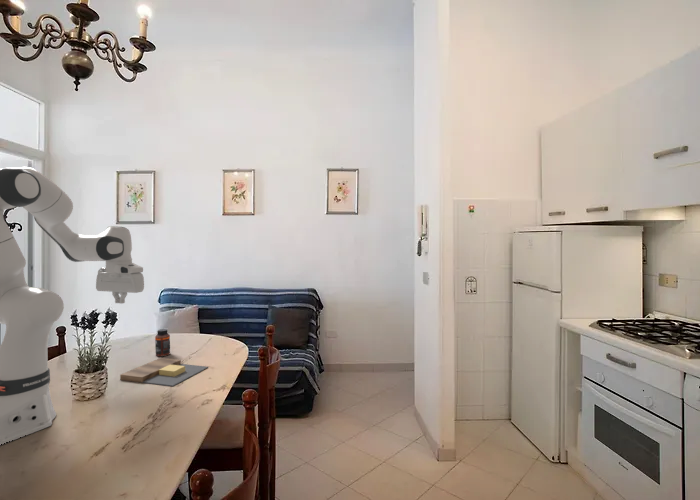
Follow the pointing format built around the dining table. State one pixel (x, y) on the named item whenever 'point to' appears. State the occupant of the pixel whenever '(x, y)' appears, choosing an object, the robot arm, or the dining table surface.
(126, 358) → the dining table surface
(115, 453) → the dining table surface
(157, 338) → the supplement bottle
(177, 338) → the dining table surface
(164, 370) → the pale yellow flat block
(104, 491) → the dining table surface
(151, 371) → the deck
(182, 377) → the mat
